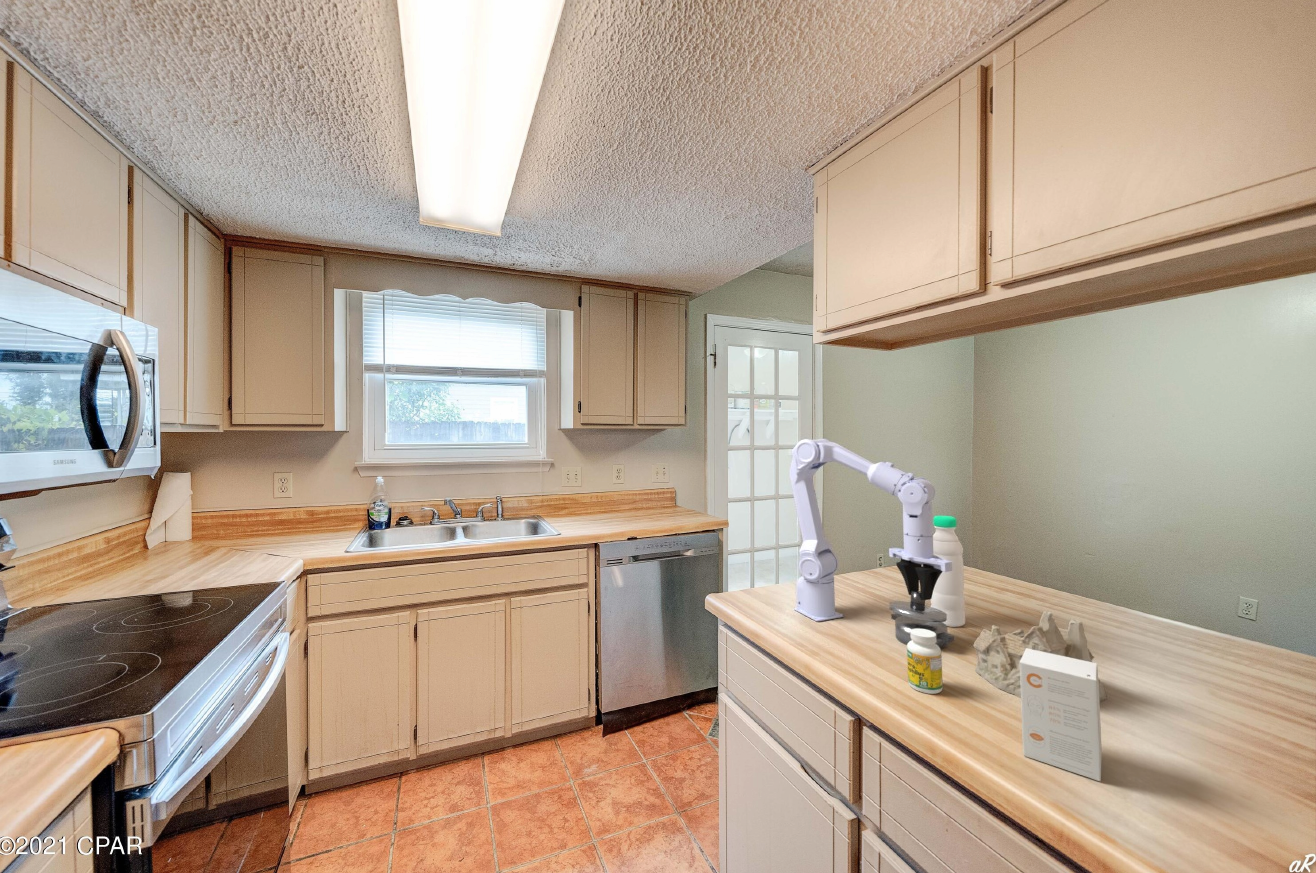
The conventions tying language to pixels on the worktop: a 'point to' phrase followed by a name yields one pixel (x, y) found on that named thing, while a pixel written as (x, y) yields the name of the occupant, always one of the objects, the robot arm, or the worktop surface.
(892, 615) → the pot
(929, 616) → the lid
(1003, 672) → the ceramic cottage
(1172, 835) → the worktop surface
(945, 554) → the water bottle
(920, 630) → the supplement bottle
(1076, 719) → the small box
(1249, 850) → the worktop surface
